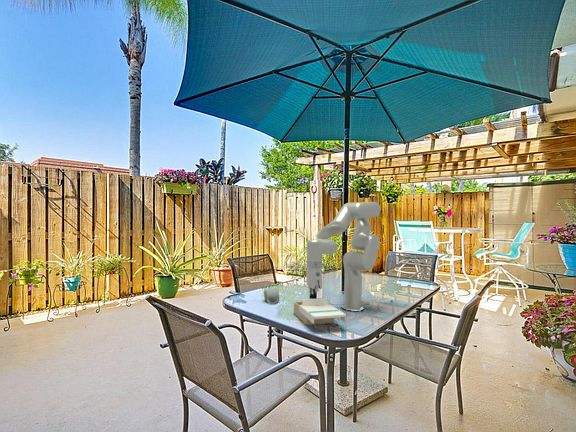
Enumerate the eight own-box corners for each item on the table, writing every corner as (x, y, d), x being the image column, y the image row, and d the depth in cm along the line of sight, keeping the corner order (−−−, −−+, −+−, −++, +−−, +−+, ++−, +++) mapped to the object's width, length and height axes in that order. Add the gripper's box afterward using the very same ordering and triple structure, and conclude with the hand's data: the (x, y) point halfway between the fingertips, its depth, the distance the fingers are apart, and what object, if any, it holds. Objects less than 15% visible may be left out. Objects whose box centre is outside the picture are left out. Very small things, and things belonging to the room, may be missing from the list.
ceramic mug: (263, 300, 182) (263, 287, 182) (276, 299, 184) (277, 286, 184) (266, 305, 172) (266, 291, 172) (280, 304, 174) (280, 291, 174)
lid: (328, 309, 152) (328, 297, 152) (345, 321, 134) (346, 307, 134) (298, 311, 147) (299, 298, 147) (313, 323, 129) (313, 309, 130)
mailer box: (318, 312, 161) (319, 300, 161) (333, 323, 144) (334, 310, 144) (293, 313, 157) (294, 301, 157) (306, 325, 139) (306, 312, 139)
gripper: (327, 266, 145) (326, 305, 144) (315, 262, 159) (314, 297, 159) (312, 267, 143) (311, 306, 142) (301, 262, 157) (300, 298, 156)
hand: (313, 301), depth 150 cm, fingers closed
